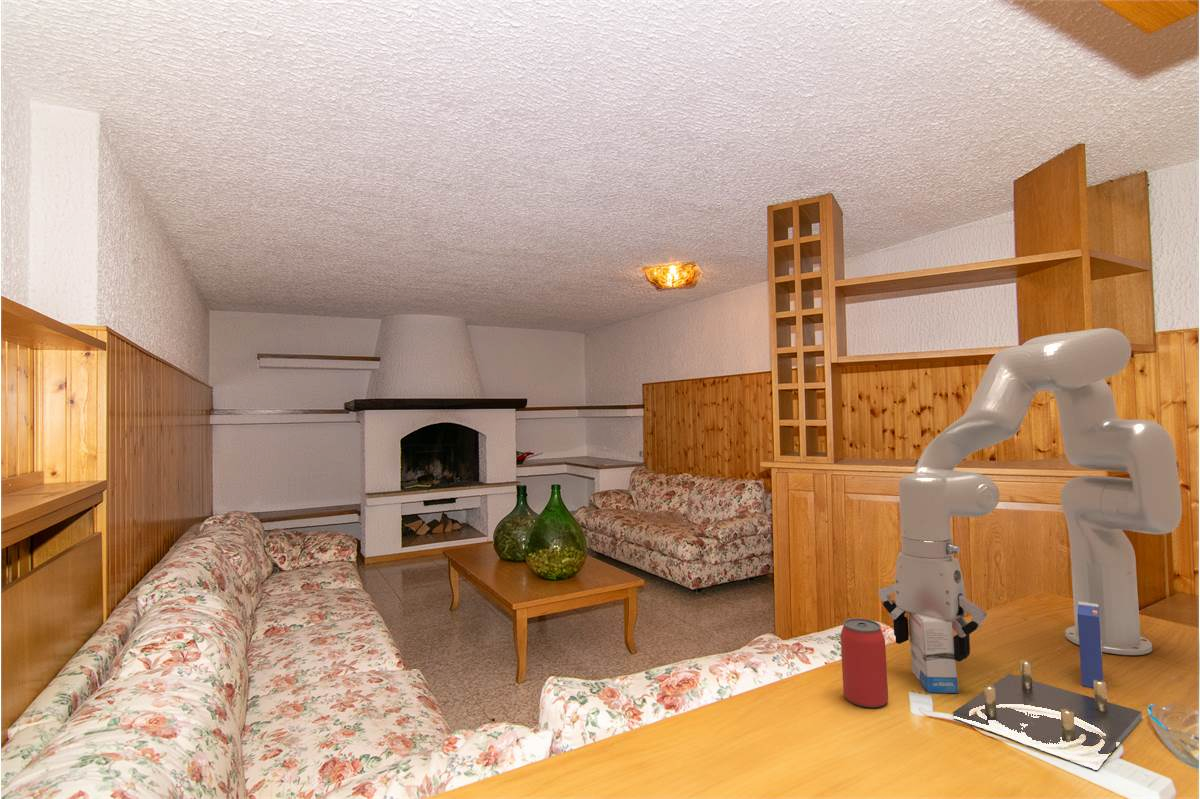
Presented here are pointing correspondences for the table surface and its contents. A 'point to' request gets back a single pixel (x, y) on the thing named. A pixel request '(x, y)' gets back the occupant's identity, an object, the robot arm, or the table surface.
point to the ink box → (933, 653)
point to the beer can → (864, 663)
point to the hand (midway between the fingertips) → (930, 650)
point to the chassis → (1070, 704)
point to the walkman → (1089, 643)
